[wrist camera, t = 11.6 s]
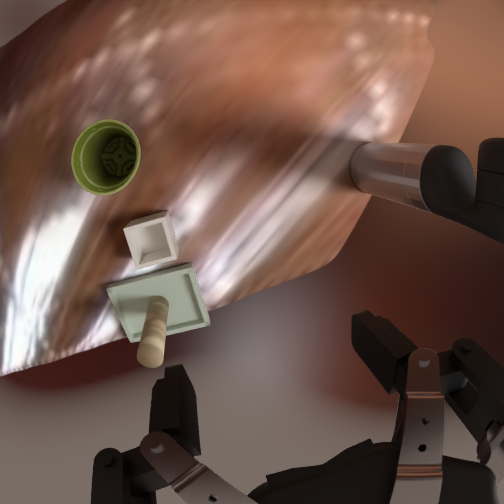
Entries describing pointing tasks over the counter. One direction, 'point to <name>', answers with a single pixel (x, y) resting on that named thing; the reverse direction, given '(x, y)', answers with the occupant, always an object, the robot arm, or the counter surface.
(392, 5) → the counter surface
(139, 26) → the counter surface
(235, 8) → the counter surface
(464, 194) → the robot arm
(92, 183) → the plant pot
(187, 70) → the counter surface
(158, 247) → the white open box
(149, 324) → the dowel
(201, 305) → the tray
